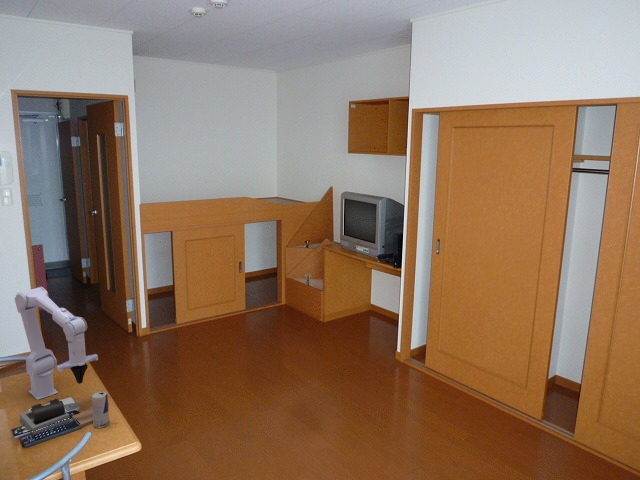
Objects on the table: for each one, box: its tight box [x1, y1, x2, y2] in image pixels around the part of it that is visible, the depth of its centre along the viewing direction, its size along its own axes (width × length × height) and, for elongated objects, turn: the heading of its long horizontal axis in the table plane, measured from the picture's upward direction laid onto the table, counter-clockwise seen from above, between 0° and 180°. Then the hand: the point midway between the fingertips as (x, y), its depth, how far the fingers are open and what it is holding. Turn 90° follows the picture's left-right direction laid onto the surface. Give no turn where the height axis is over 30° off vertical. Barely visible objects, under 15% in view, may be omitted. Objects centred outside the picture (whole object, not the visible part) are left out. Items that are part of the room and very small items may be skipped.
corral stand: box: [19, 403, 71, 435], centre depth 183 cm, size 13×12×2 cm
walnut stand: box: [71, 408, 93, 428], centre depth 185 cm, size 8×8×1 cm
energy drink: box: [91, 390, 110, 429], centre depth 181 cm, size 5×5×12 cm
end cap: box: [30, 398, 66, 425], centre depth 183 cm, size 10×7×7 cm
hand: (79, 382), depth 191 cm, fingers closed
